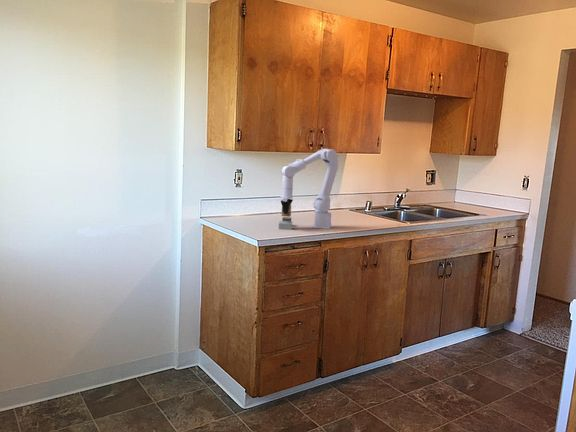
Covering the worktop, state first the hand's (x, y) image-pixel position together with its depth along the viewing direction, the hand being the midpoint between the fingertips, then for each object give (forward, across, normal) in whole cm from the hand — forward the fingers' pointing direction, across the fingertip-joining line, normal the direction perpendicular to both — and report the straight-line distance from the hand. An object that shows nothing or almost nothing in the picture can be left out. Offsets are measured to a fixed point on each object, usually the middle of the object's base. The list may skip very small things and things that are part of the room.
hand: (286, 213), depth 267 cm
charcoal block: (+9, -8, -1) cm, 12 cm away
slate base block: (+9, 0, 0) cm, 9 cm away
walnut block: (+2, 0, 0) cm, 2 cm away
